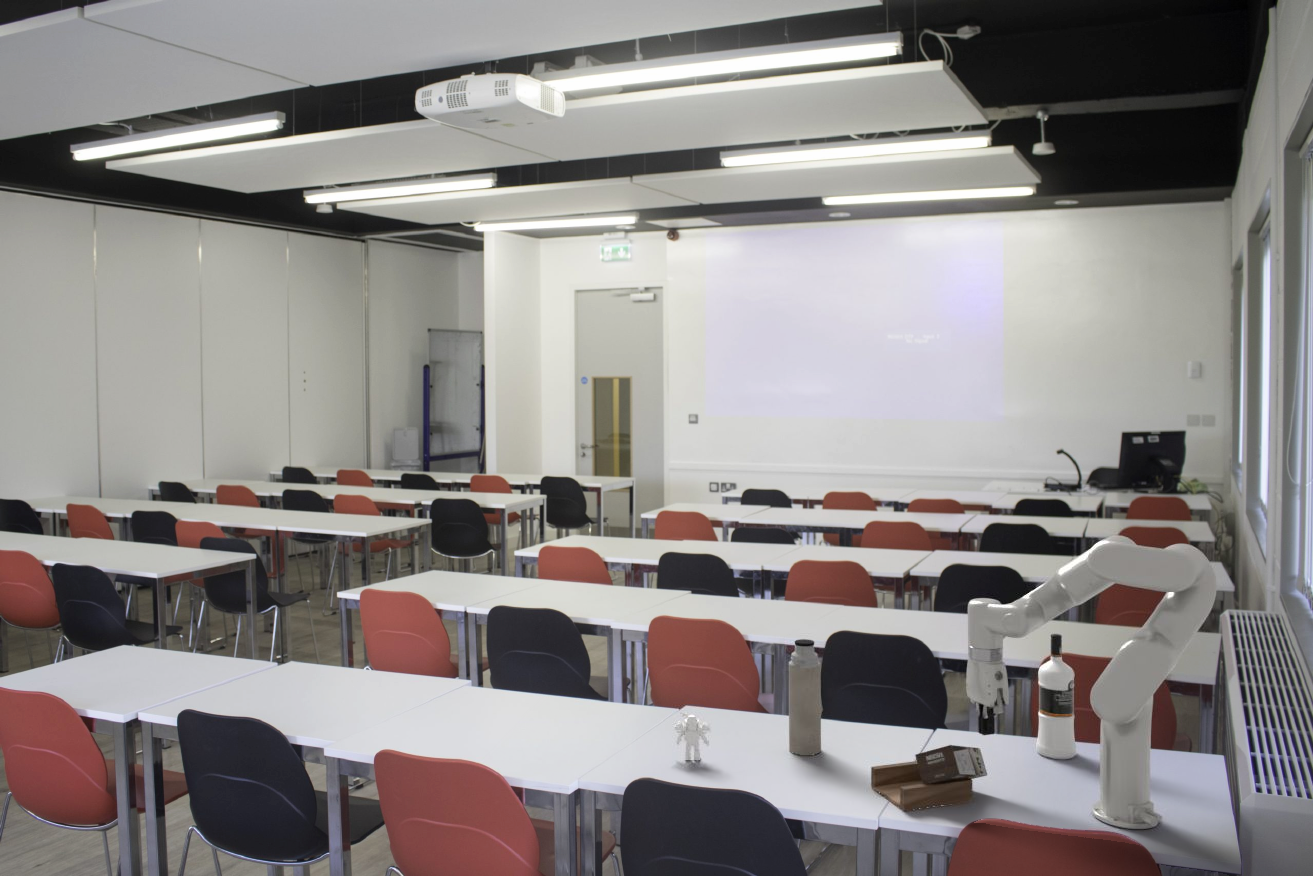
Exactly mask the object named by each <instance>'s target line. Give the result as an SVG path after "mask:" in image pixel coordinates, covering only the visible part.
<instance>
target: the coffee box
mask: <svg viewBox="0 0 1313 876" xmlns="http://www.w3.org/2000/svg"><path fill="white" fill-rule="evenodd" d="M914 757H915V759H916V760H915V761H917V763H918V767H919V771H920V775H921V779H922V782H923V783H933V782H940V781H948V780H955V779H962V778H970V779H971V780H974V779H978V778H983V777H987V776H988V772H987V769H986V768H987V767H986V765H985V761H984V757H983V755H982V751H981V748H980V747H973V746H963V745H953V744H949V745H946V746H942V747H941V746H940V747H938V748H935V749H931V750H928V751H924V752H921V753H916V754H915V755H914Z"/></svg>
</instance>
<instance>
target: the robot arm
mask: <svg viewBox="0 0 1313 876" xmlns="http://www.w3.org/2000/svg"><path fill="white" fill-rule="evenodd" d="M1114 584H1115V585H1116V584H1117V585H1123V586H1127V587H1133V588H1138V589H1139V588H1141V589H1146V590H1151V591H1156V592H1163V593H1164V592H1165V594H1164V596H1163V598H1162V599H1161V601H1160V602H1159V603H1158V604H1157V606H1156V607H1155V608H1154V611H1153V612H1152V614H1151V615H1150V616H1149V618H1148V619H1147V620H1146V622H1144V624H1143V625H1142V627H1141V628H1140V629H1139V630H1138V631H1136V632H1135V633H1134V634H1132V635H1131V636H1130V637H1128V639H1127V640H1126V641H1124V643H1123V644H1122V645H1121V647H1120V648H1119V649H1118V650H1117V652H1116V653H1115V654H1114V656H1113V657H1112V658H1111V660H1110V661H1109V663H1108V664H1107V666H1106V667H1105V668H1104V670H1103V672H1102V673H1101V674H1100V675H1099V677H1098V678H1097V680H1096V682H1095V683H1094V684H1093V686H1092V688H1091V690H1090V695H1089V700H1090V701H1089V702H1090V705H1091V709H1092V710H1093V712H1094V713H1095V715H1096V716H1097V717H1098V718H1099V719H1100V729H1099V730H1100V735H1099V738H1100V739H1099V741H1100V742H1099V744H1100V745H1099V752H1100V753H1099V754H1100V755H1099V759H1100V760H1099V767H1100V768H1099V801H1096V802H1095V803H1093V805H1092V808H1091V813H1092V815H1093V816H1094V818H1097V819H1098V820H1099V821H1100V822H1103V823H1104V824H1105V823H1106V824H1107V825H1110V826H1115V827H1119V828H1122V829H1131V830H1145V829H1146V830H1147V829H1151V828H1154V827H1157V825H1158V823H1159V822H1162V821H1163V815H1162V814H1160V813H1158V812H1156V811H1155V809H1154V807H1155V803H1154V802H1153V801H1151V747H1152V746H1151V745H1152V744H1151V743H1152V742H1151V741H1152V740H1151V738H1152V736H1151V735H1152V716H1153V705H1154V694H1155V693H1156V692H1157V690H1158V689H1159V687H1160V686H1161V685H1162V683H1163V682H1164V680H1165V679H1166V678H1167V677H1168V675H1169V674H1170V673H1171V672H1172V671H1173V670H1174V669H1175V667H1176V665H1177V663H1178V661H1179V659H1180V658H1181V656H1182V654H1183V653H1184V651H1185V650H1186V648H1187V647H1188V646H1189V645H1190V643H1191V642H1192V640H1193V639H1194V638H1195V636H1196V635H1197V632H1199V630H1200V628H1201V627H1202V625H1203V624H1204V622H1205V621H1206V619H1207V618H1208V617H1209V614H1210V613H1211V611H1212V609H1213V606H1214V604H1215V600H1216V596H1217V578H1216V574H1215V571H1214V568H1213V566H1212V564H1211V562H1210V561H1209V559H1208V558H1207V556H1206V554H1204V552H1202V551H1201V550H1200V549H1199V548H1197V547H1195V546H1193V545H1192V544H1189V543H1188V544H1187V543H1175V544H1172V545H1169V546H1167V547H1164V548H1159V547H1153V546H1144V545H1139V544H1138V545H1137V544H1136V543H1135V541H1133V540H1132V539H1130V538H1129V537H1126V536H1124V535H1111V536H1108V537H1105V538H1103V539H1102V540H1099V541H1097V542H1096V543H1095V544H1093V546H1091V548H1090V549H1088V550H1086V551H1085V552H1083V553H1081V554H1080V555H1079V556H1077V557H1076V558H1074V559H1072V560H1071V561H1069V562H1068V563H1066V564H1064V565H1063V566H1061V567H1060V568H1058V569H1057V570H1056V571H1055V572H1054V574H1053V576H1052V577H1051V578H1049V579H1048V580H1047V581H1045V582H1044V583H1042V584H1041V585H1040V586H1038V587H1036V588H1035V589H1033V590H1031V591H1030V592H1029V593H1027V594H1025V595H1023V596H1022V597H1020V598H1018V599H1016V600H1014V601H1013V602H1011V603H1006V604H1002V603H1001V601H999V600H997V599H993V598H987V597H980V598H979V597H978V598H973V599H970V600H969V602H968V604H967V640H968V641H967V652H968V653H967V654H968V655H967V656H968V658H967V663H966V665H967V666H966V674H965V675H966V678H965V685H966V686H965V688H966V696H967V697H968V698H969V701H970V702H971V703H972V704H973V705H974V707H975V711H976V715H977V716H978V717H977V718H978V720H977V725H978V726H977V727H978V728H977V731H978V732H977V733H978V734H980V735H982V736H989V735H994V734H995V733H996V731H995V730H996V729H995V728H996V726H995V718H997V715H998V714H1003V713H1004V707H1005V706H1008V705H1009V703H1010V696H1009V695H1010V693H1009V681H1008V672H1007V667H1006V664H1005V662H1004V637H1008V638H1010V639H1011V638H1012V639H1021V638H1024V637H1026V636H1028V635H1030V634H1031V633H1033V632H1035V631H1036V630H1038V629H1039V628H1041V627H1043V626H1044V625H1046V624H1048V623H1049V622H1051V621H1052V620H1054V619H1056V618H1057V617H1059V616H1060V615H1061V614H1063V613H1065V612H1067V611H1068V610H1070V609H1072V608H1073V607H1076V606H1080V605H1082V604H1084V603H1086V602H1087V601H1089V600H1090V599H1092V598H1093V597H1095V596H1097V595H1098V594H1100V593H1102V592H1103V591H1105V590H1107V589H1108V588H1110V587H1112V586H1113V585H1114ZM1003 706H1004V707H1003Z"/></svg>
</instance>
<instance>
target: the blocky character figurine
mask: <svg viewBox="0 0 1313 876" xmlns="http://www.w3.org/2000/svg"><path fill="white" fill-rule="evenodd" d="M680 716H681V717H684V722H685V724H684V722H682V721H680V720H678V721H677V722H675V724H676V725H674V726H673V727H674V728H675V729H674V731H675V732H676V733H677V734H678V736H677V739H676V744H677V745H680V744H681V742H684V741H685V754H684V760H685V759H687V760H690V759H691V760H692V748H693V751H694V752H693V761H694V760H700V759H702V757H701V753H700V752H701V751H700V742H699V741H700V739H701V740H702V741H703V743H704V744H706V747H708V746H709V745H710V741H709V740H708V738H707V736H706V734H708V732H709V733H711V731H712V730H711V727H710V724H709V723H708V722H707V721H704V722H703V723H702V724H701V725H700V719H698V717H697V716H696V715H694V714H690V715H689V713H687V712H686V713H685V712H682V711H681V712H680ZM691 760H690V761H691ZM700 761H701V760H700Z"/></svg>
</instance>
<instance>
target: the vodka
mask: <svg viewBox="0 0 1313 876" xmlns="http://www.w3.org/2000/svg"><path fill="white" fill-rule="evenodd" d="M1062 637H1063V636H1062V635H1061V633H1060V634H1059V633H1052V634H1050V660H1048V661H1046V662H1045V663H1043V664H1041V665H1040V666H1039V668H1038V672H1037V674H1038V677H1037V678H1038V680H1037V681H1038V682H1037V683H1038V713H1037V714H1038V731H1037V739H1036V744H1035V745H1036V746H1035V748H1036V751H1037V753H1038V754H1040V755H1041V756H1043V757H1046V758H1049V759H1052V760H1053V759H1054V760H1061V761H1062V760H1070V759H1073V758H1075V756H1076V755H1077V744H1076V740H1075V729H1074V727H1075V725H1074V723H1075V722H1074V721H1075V718H1076V717H1075V713H1074V712H1075V710H1074V709H1075V708H1074V707H1075V704H1074V703H1075V702H1074V701H1075V699H1074V697H1075V690H1074V688H1075V680H1074V679H1075V671H1074V670H1073V668H1072V667H1071V666H1070V665H1068V664H1067V663H1066V662H1064V661H1063V657H1062V656H1063V655H1062V654H1063V651H1062V649H1063V644H1062V642H1063V639H1062Z"/></svg>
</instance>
